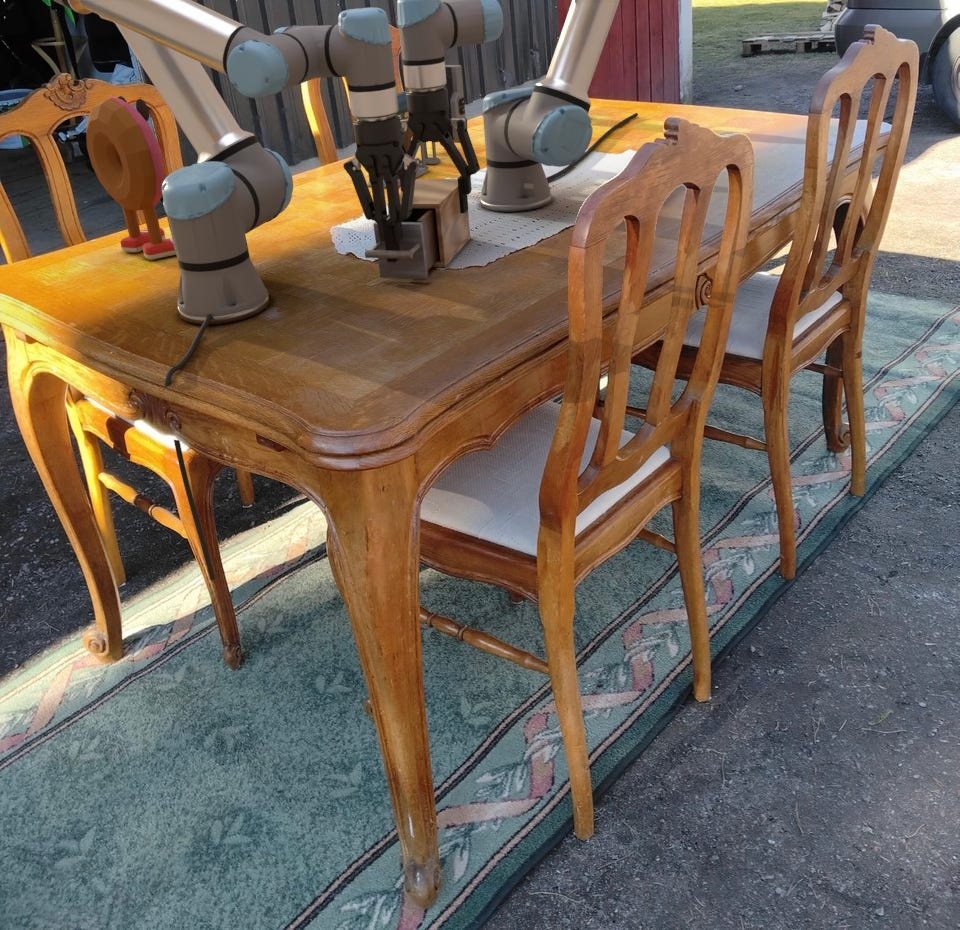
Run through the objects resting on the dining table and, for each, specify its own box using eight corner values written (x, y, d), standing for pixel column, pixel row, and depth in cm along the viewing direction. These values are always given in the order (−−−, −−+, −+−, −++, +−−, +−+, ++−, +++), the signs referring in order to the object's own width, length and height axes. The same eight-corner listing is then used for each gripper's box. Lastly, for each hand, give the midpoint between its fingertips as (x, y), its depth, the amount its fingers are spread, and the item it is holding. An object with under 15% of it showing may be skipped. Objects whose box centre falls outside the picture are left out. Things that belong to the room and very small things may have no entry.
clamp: (395, 188, 226) (384, 92, 216) (364, 185, 230) (352, 91, 219) (468, 152, 252) (461, 65, 241) (439, 150, 256) (431, 64, 245)
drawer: (415, 291, 164) (409, 234, 159) (368, 289, 166) (360, 234, 162) (452, 250, 181) (447, 198, 176) (408, 249, 184) (403, 198, 179)
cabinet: (445, 267, 176) (439, 203, 170) (395, 265, 179) (387, 203, 173) (470, 238, 190) (465, 178, 184) (423, 237, 192) (417, 179, 187)
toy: (206, 251, 195) (170, 95, 179) (161, 266, 188) (121, 105, 173) (151, 235, 208) (114, 87, 192) (108, 248, 202) (66, 97, 186)
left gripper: (422, 109, 154) (436, 252, 167) (346, 111, 158) (366, 251, 170) (406, 120, 148) (423, 267, 160) (329, 122, 152) (350, 266, 164)
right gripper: (491, 82, 174) (499, 205, 185) (375, 85, 180) (390, 205, 191) (480, 90, 168) (489, 217, 179) (360, 93, 174) (376, 216, 185)
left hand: (394, 259), depth 165 cm, fingers closed
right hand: (438, 211), depth 185 cm, fingers closed on cabinet, 10 cm apart
